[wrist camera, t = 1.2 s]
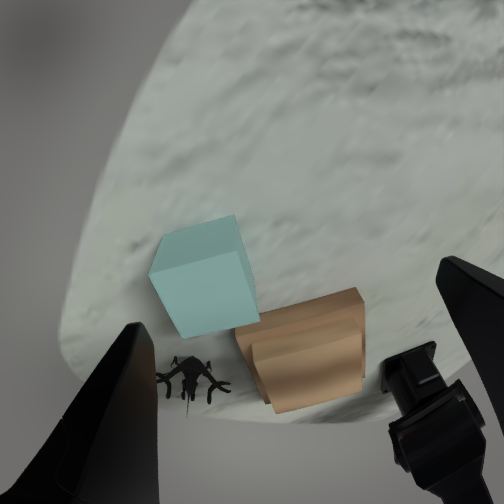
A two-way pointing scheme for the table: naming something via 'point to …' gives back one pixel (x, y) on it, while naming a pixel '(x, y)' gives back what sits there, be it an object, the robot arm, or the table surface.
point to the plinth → (300, 322)
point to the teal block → (205, 278)
